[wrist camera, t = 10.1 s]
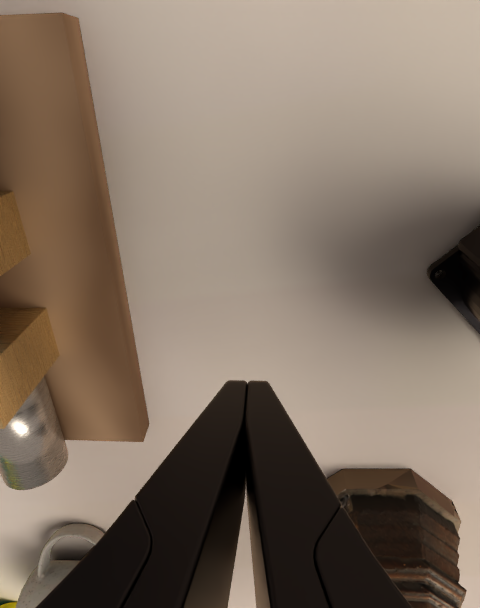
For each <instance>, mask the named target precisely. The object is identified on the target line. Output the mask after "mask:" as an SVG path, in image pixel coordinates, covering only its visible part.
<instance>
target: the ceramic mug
mask: <svg viewBox="0 0 480 608" xmlns="http://www.w3.org/2000/svg"><path fill="white" fill-rule="evenodd" d="M103 535H104V533H103V532H102V531H101V530H99V529H97V528H95V527H93V526H92V525H88V524H81V523H78V524H69V525H66V526H64V527H61V528H60V529H59V530H57V531H56V532H55V533H54V534H53V536H52V537H51V538H50V540H49V541H48V542H47V543H46V545H45V546H44V548H43V550H42V552H41V555H40V559H39V563H38V566H37V568H36V569H35V570H34V571H33V572H32V573H31V575H30V576H29V578H28V580H27V581H26V583H25V585H24V587H23V589H22V591H21V593H20V596H19V599H18V602H17V604H16V608H35V607H36V606H37V605H38V604H39V603H40V602H41V601H42V600H43V599H44V598H45V597H46V596H47V595H48V594H49V593H50V592H51V591H52V590H53V589H54V588H55V587H56V586H57V585H58V584H59V583H60V582H61V581H62V580H63V579H64V578H65V577H66V576H67V574H68V573H69V572H70V571H71V570H72V569H73V568H74V567H75V566H76V565H77V564H78V563H79V562H80V561H78V560H52V561H50V553H51V549H52V546H53V545H54V544H55V543H56V542H57V541H58V540H59V539H61V538H63V537H78V538H82V539H85V540H87V541H88V542H90V543H92V544H93V545H96V543H97V542H98V541H99V540H100V539H101V538H102V536H103Z"/></svg>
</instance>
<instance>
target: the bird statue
mask: <svg viewBox="0 0 480 608" xmlns="http://www.w3.org/2000/svg"><path fill="white" fill-rule="evenodd" d="M327 480H328V482H329V484H330V485H331V487H332V489H333V490H334V492H335V494H336V495H337V497H338V499H339V500H340V502H341V504H342V507H343V508H344V509H345V510H346V512H347V513H348V515H349V517H350V518H351V520H352V522H353V523H354V525H355V527H356V528H357V530H358V531H359V533H360V534H361V536H362V538H363V539H364V541H365V542H366V544H367V545H368V547H369V548H370V550H371V552H372V553H373V555H374V556H375V558H376V559H377V560H378V562H379V563H380V564H381V566H382V567H383V569H384V570H385V571H386V573H387V574H388V575H389V577H390V578H391V580H392V581H393V582H394V584H395V585H396V586H397V588H398V589H399V590H400V592H401V593H402V594H403V596H404V597H405V598H406V600H407V601H408V602H409V604H410V605H411V606H412V608H461V605H462V602H463V601H464V597H465V595H466V589H464V588H463V587H462V586H461V585H460V584H459V583H458V582H459V576H460V574H459V569H458V567H457V563H458V559H459V554H458V552H457V550H458V545H459V541H460V538H459V536H458V530H459V527H460V523H461V520H460V518H459V516H458V514H457V511H456V509H455V506H454V504H453V502H452V501H451V500H450V499H449V498H447V497H446V496H445V495H444V494H442V493H441V492H440V491H438V490H437V489H436V488H435V487H433V486H432V485H431V484H429V483H428V482H427V481H426V480H424V479H423V478H422V477H420V476H419V475H418V474H417V473H415V472H414V471H413V470H411V469H342V470H340V471H339V472H337V473H336V474H334V475H332V476H331V477H329V478H328V479H327Z"/></svg>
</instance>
